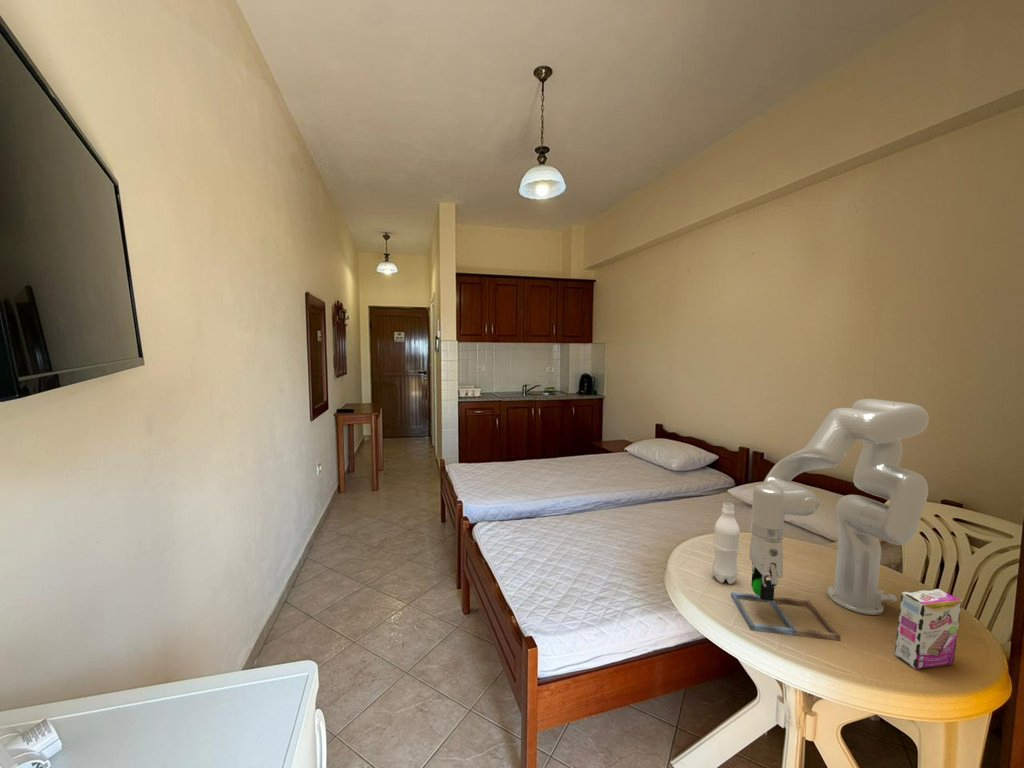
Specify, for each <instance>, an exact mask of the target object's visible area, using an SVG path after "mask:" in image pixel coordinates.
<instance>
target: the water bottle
mask: <svg viewBox="0 0 1024 768" xmlns="http://www.w3.org/2000/svg"><path fill="white" fill-rule="evenodd" d="M734 506H735V505H734V504H733V503H730V502H723V503H722V508H721V515H720V517H719V518H718V520H717V521H716V522H715V524H714V541H713V547H714V548H713V549H714V560H713V561H712V574H713V577H715V578H716V580H717V582H720V583H724V582H725V580H726V582H727V584H729V585H732V584H734V583H735V582H736V580H737V578H738V575H739V568H738V563H737V562H738V561H737V560H738V554H739V550H740V547H739V546H740V533H741V530H740V527H739V524H738V522H737V520H736V517H735V515H734V514H735V510H734V508H735V507H734Z"/></svg>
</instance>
